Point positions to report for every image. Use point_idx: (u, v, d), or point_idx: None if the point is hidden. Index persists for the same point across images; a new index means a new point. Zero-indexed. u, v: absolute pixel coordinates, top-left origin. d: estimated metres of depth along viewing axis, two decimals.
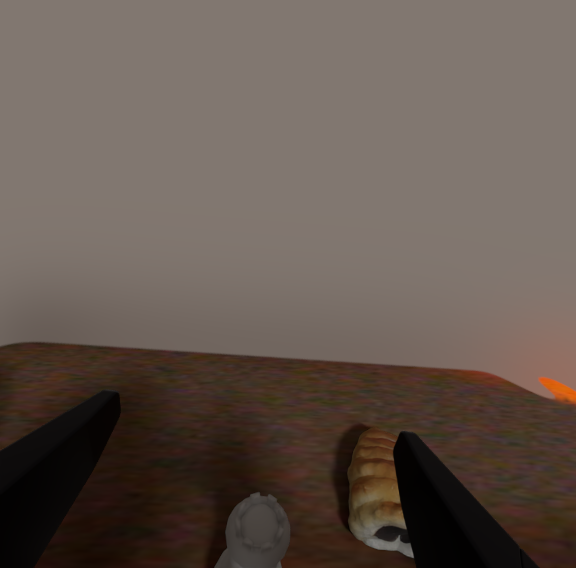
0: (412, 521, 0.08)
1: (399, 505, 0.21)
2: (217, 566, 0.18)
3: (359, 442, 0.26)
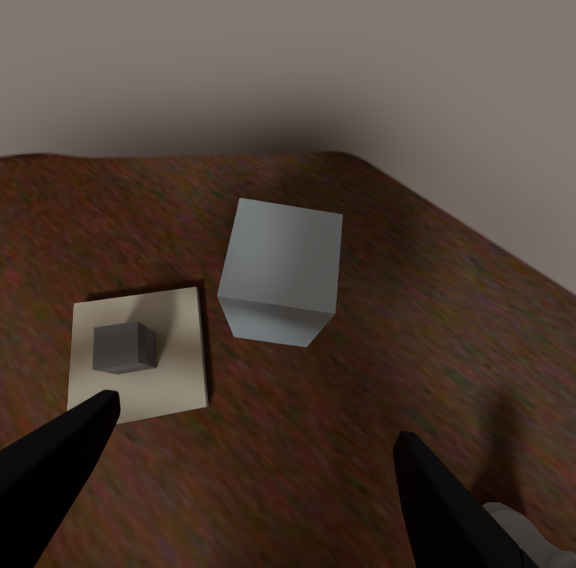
0: (412, 521, 0.08)
1: None
2: None
3: None
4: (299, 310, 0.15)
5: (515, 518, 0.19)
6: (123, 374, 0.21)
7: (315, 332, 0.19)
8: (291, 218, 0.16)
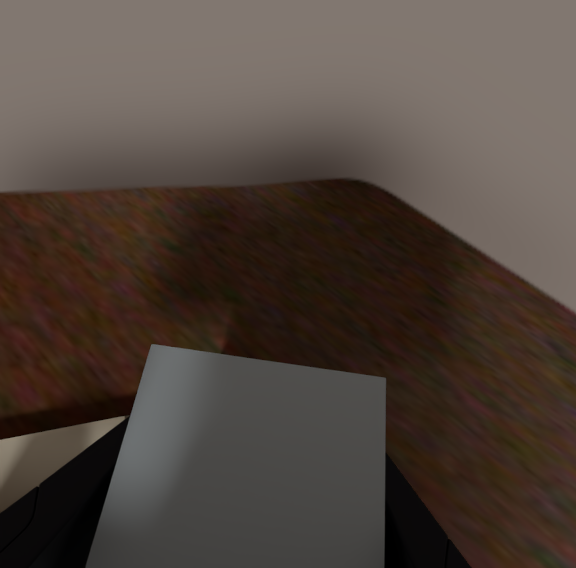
0: None
1: None
2: None
3: None
4: None
5: None
6: None
7: None
8: (269, 396, 0.07)
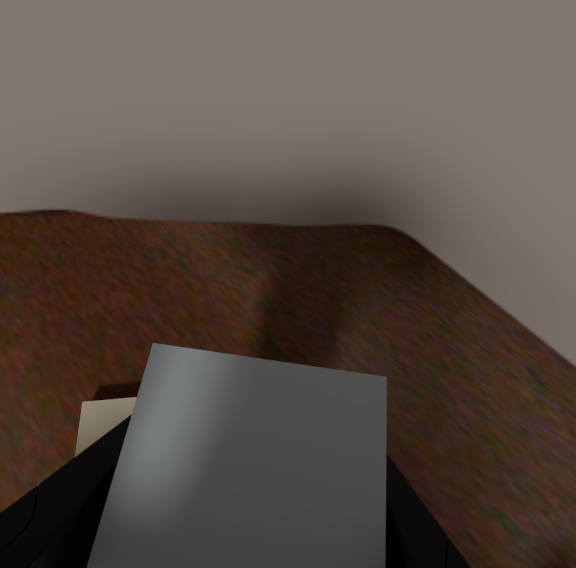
0: None
1: None
2: None
3: None
4: None
5: None
6: None
7: None
8: (270, 395, 0.07)
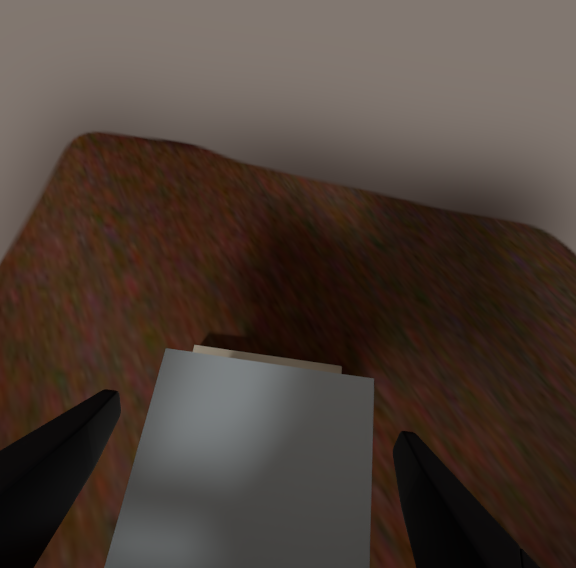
0: (412, 521, 0.08)
1: None
2: None
3: None
4: None
5: None
6: None
7: None
8: (270, 394, 0.08)
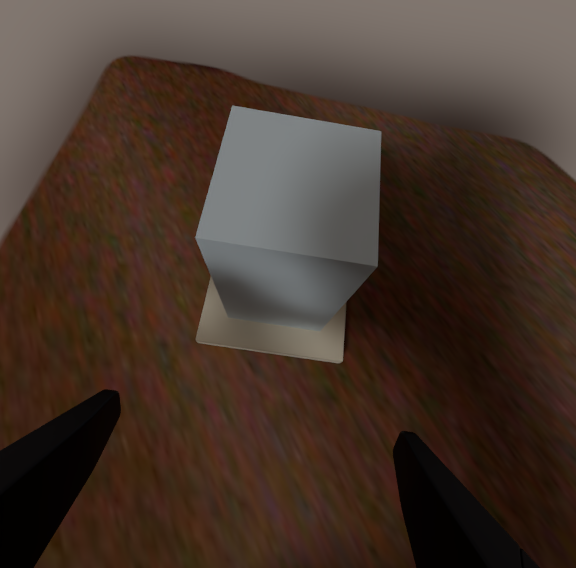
0: (412, 521, 0.08)
1: None
2: None
3: None
4: (321, 262, 0.10)
5: None
6: None
7: (337, 305, 0.14)
8: (307, 134, 0.11)
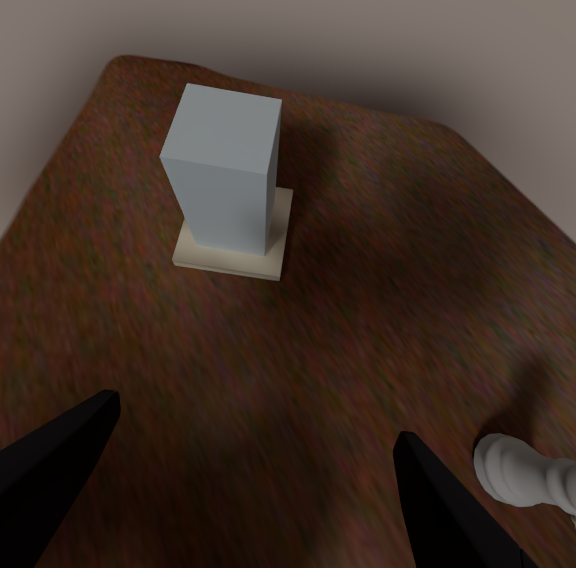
0: (412, 521, 0.08)
1: None
2: (504, 441, 0.21)
3: None
4: (235, 173, 0.17)
5: (524, 445, 0.21)
6: None
7: (262, 220, 0.20)
8: (233, 100, 0.18)
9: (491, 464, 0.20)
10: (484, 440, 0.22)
